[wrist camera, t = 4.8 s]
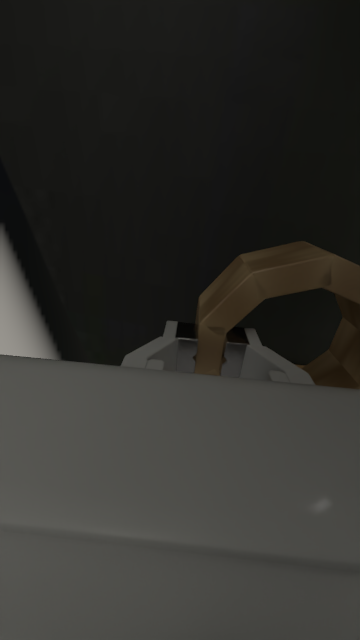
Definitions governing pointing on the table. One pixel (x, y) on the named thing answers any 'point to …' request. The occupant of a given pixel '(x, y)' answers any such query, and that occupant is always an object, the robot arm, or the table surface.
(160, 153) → the table surface
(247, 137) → the table surface
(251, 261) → the birch ring
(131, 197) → the table surface
